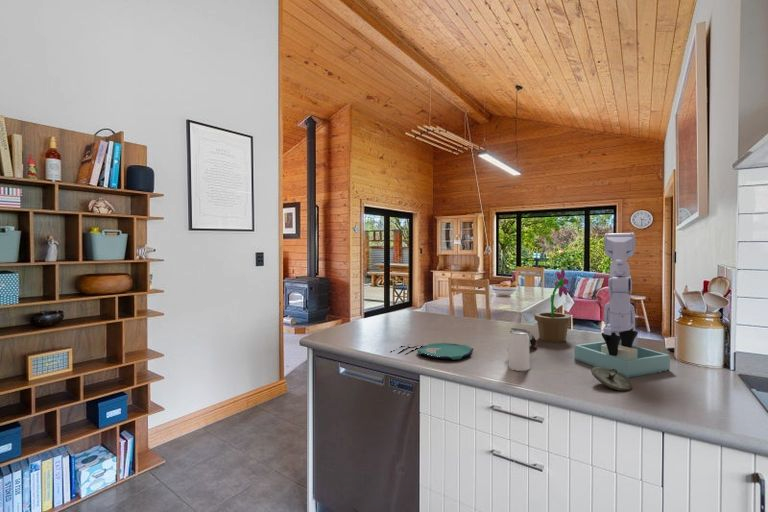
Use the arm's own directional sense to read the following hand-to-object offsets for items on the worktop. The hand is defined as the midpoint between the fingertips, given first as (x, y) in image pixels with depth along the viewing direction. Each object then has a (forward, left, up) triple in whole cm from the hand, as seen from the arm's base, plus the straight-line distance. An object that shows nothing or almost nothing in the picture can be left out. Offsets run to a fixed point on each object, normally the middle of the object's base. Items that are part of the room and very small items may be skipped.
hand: (619, 353), depth 127 cm
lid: (+18, +13, -4) cm, 22 cm away
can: (+33, -9, -4) cm, 34 cm away
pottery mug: (+15, -29, -4) cm, 33 cm away
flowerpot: (-4, -35, -4) cm, 35 cm away
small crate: (0, 0, -3) cm, 3 cm away
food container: (+26, -16, -4) cm, 31 cm away
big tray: (0, 0, -4) cm, 4 cm away
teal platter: (+51, -37, -4) cm, 63 cm away
